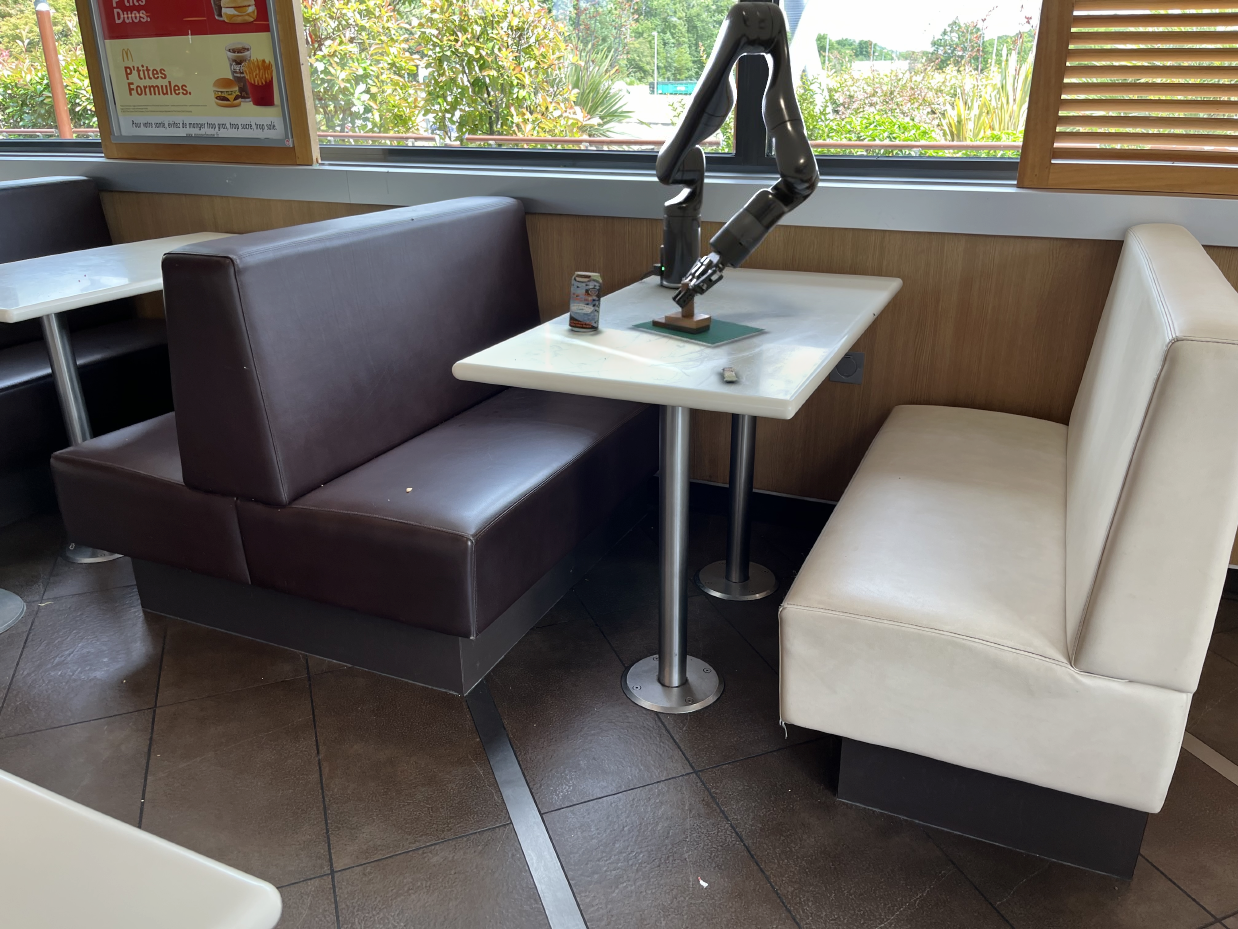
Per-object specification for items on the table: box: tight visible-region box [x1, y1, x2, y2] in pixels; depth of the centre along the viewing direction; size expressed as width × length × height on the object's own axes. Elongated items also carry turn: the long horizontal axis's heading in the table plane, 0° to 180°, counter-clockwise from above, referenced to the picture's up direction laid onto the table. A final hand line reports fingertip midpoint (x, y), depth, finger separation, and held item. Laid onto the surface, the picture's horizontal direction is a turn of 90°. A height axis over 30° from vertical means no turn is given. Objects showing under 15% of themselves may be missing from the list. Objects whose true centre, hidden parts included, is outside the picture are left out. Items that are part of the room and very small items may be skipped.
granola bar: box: [721, 366, 739, 382], centre depth 150 cm, size 7×2×1 cm, turn 179°
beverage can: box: [568, 271, 603, 333], centre depth 179 cm, size 6×7×12 cm
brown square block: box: [651, 316, 666, 328], centre depth 182 cm, size 4×4×1 cm
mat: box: [631, 317, 766, 345], centre depth 181 cm, size 22×16×1 cm
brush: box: [664, 281, 712, 334], centre depth 177 cm, size 8×5×10 cm, turn 46°
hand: (676, 303), depth 176 cm, fingers closed on brush, 2 cm apart
